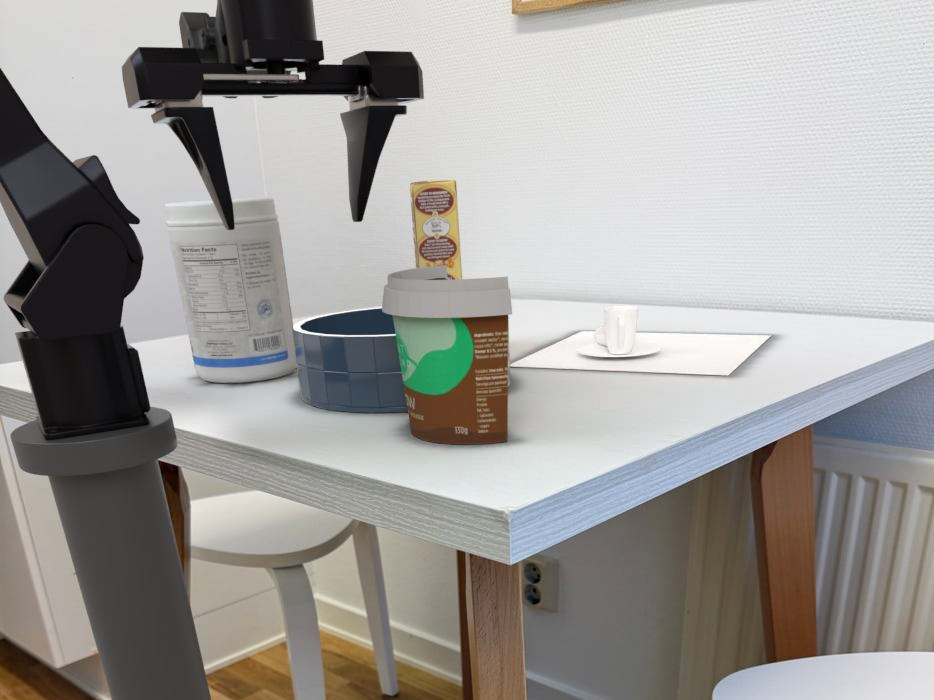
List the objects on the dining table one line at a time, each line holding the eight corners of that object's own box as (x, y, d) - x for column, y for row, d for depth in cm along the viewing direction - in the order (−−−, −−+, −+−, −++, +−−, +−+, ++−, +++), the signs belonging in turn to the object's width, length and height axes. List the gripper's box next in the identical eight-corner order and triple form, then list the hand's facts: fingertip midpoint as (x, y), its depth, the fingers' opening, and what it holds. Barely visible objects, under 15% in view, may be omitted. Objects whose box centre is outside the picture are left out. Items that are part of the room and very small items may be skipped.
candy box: (468, 359, 84) (459, 178, 77) (424, 362, 84) (411, 181, 77) (460, 344, 92) (451, 179, 85) (420, 347, 91) (408, 181, 84)
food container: (373, 419, 64) (358, 271, 60) (452, 408, 66) (443, 264, 61) (424, 460, 54) (410, 286, 49) (516, 446, 56) (511, 277, 51)
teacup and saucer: (595, 344, 88) (596, 300, 86) (674, 346, 84) (676, 301, 83) (563, 360, 81) (563, 313, 79) (647, 363, 78) (649, 314, 76)
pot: (347, 424, 63) (337, 345, 60) (274, 386, 77) (264, 320, 74) (550, 389, 70) (549, 317, 68) (451, 360, 84) (447, 299, 81)
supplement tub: (218, 366, 87) (188, 201, 80) (311, 363, 86) (289, 195, 79) (180, 387, 79) (142, 204, 72) (282, 384, 78) (254, 198, 71)
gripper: (357, -19, 64) (378, 217, 72) (87, -32, 57) (140, 232, 64) (418, -55, 56) (434, 218, 63) (108, -76, 48) (166, 235, 55)
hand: (295, 225), depth 62 cm, fingers open, 9 cm apart
